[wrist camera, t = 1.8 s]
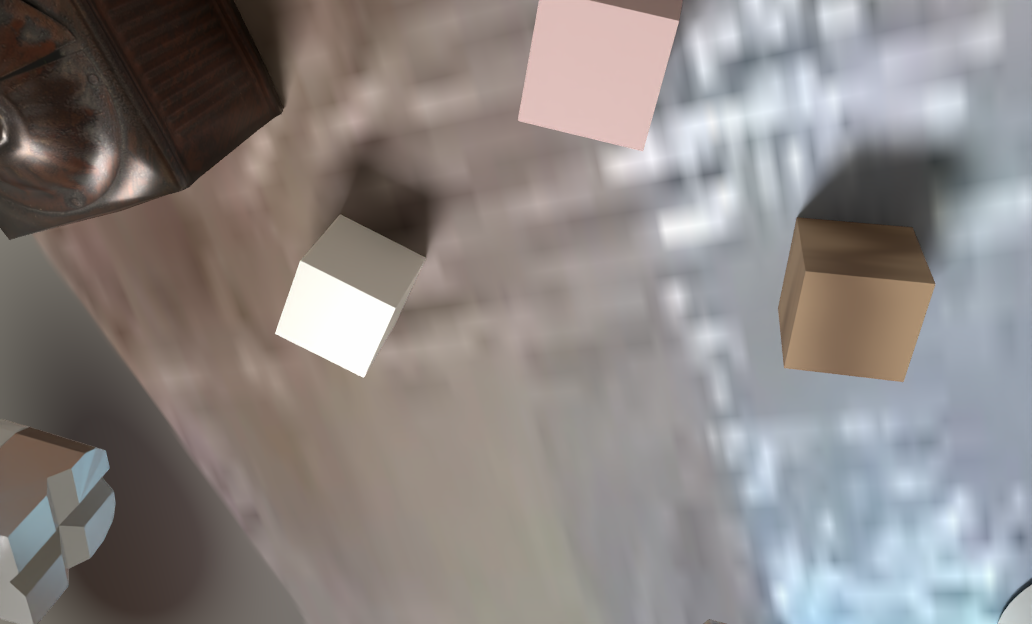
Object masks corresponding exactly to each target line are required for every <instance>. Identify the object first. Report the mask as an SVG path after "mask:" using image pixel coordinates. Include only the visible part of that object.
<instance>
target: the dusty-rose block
mask: <svg viewBox="0 0 1032 624" xmlns="http://www.w3.org/2000/svg"><path fill="white" fill-rule="evenodd" d="M682 1H683V0H539V4H538V10H537V16H536V21H535V27H534V33H533V38H532V44H531V50H530V55H529V61H528V66H527V72H526V78H525V83H524V89H523V95H522V100H521V106H520V112H519V117H518V121H521V122H525V123H529V124H533V125H538V126H542V127H546V128H550V129H554V130H558V131H562V132H566V133H570V134H575V135H579V136H583V137H587V138H591V139H595V140H599V141H603V142H607V143H612V144H616V145H620V146H624V147H628V148H632V149H636V150H640V151H643V149H644V146H645V142H646V139H647V135H648V131H649V128H650V124H651V121H652V117H653V113H654V110H655V106H656V103H657V99H658V95H659V92H660V88H661V85H662V81H663V77H664V74H665V70H666V67H667V63H668V59H669V56H670V52H671V49H672V45H673V41H674V38H675V34H676V31H677V27H678V23H679V19H680V13H681V7H682Z"/></svg>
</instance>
